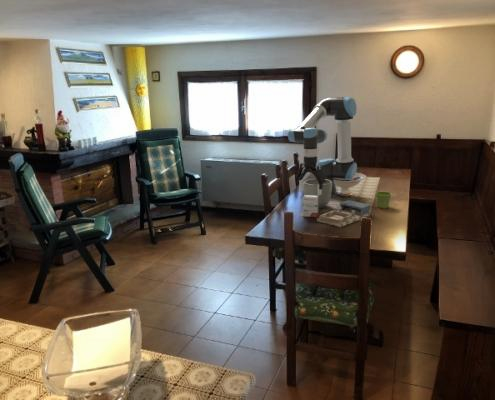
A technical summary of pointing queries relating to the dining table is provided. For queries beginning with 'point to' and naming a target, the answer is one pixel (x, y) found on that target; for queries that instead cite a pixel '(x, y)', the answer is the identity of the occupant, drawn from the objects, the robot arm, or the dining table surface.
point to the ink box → (310, 205)
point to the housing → (355, 206)
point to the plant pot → (383, 199)
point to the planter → (311, 189)
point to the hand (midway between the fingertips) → (310, 192)
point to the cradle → (341, 217)
